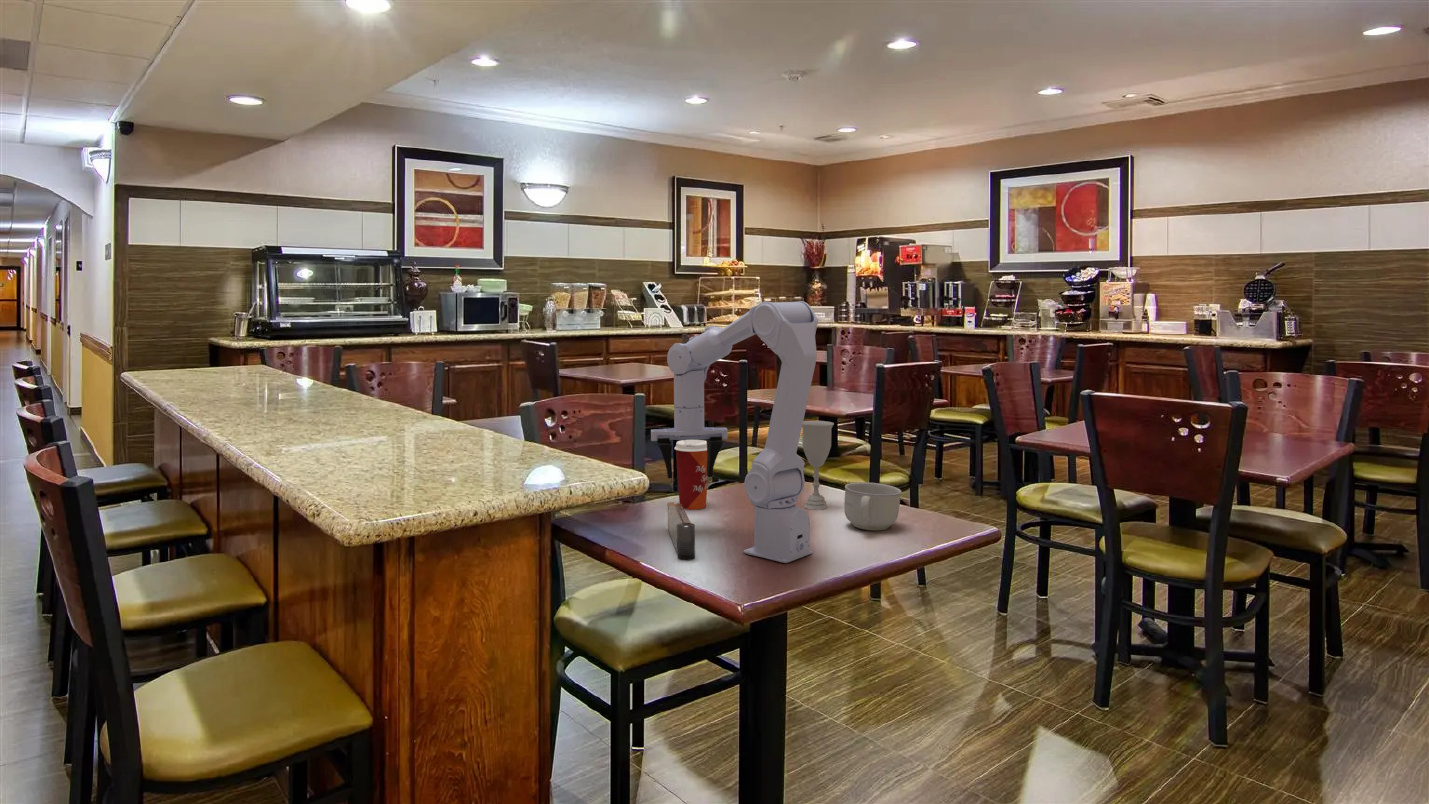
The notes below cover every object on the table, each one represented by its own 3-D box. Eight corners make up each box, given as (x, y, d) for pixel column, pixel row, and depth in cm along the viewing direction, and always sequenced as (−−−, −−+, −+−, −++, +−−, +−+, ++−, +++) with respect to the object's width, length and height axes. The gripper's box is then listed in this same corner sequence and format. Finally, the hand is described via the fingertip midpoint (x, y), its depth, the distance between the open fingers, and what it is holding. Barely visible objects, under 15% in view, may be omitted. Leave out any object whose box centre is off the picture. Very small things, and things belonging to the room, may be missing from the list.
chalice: (792, 506, 194) (793, 422, 192) (813, 501, 199) (814, 419, 196) (818, 512, 189) (819, 426, 186) (839, 507, 193) (840, 423, 191)
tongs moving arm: (683, 552, 159) (683, 524, 159) (676, 552, 159) (676, 524, 159) (673, 527, 176) (673, 502, 175) (667, 527, 176) (667, 502, 175)
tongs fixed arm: (696, 559, 156) (695, 526, 155) (678, 560, 156) (678, 527, 155) (681, 528, 176) (681, 499, 175) (666, 529, 176) (666, 500, 175)
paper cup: (706, 511, 189) (706, 445, 188) (670, 510, 191) (670, 444, 189) (714, 503, 197) (714, 439, 195) (679, 501, 198) (679, 438, 197)
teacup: (856, 517, 185) (857, 478, 184) (908, 524, 179) (909, 484, 178) (828, 533, 173) (829, 492, 172) (882, 541, 167) (883, 498, 166)
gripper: (723, 402, 178) (723, 471, 179) (649, 404, 175) (650, 473, 177) (729, 407, 171) (729, 478, 172) (652, 409, 169) (653, 481, 170)
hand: (689, 476), depth 174 cm, fingers open, 7 cm apart
